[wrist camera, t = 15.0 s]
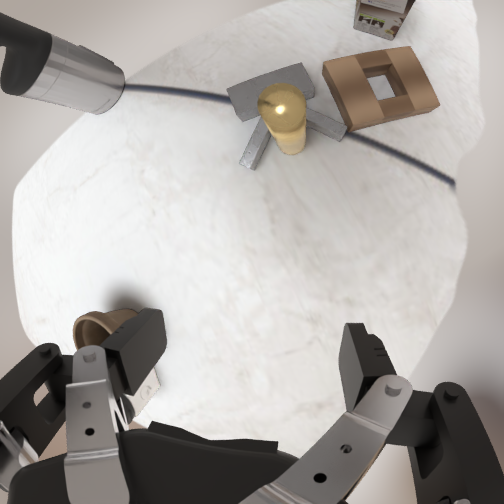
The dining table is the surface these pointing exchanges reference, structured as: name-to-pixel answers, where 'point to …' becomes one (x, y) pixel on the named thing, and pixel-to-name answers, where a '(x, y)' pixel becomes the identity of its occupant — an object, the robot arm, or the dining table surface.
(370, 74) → the hollow rectangular block
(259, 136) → the v block
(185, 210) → the dining table surface
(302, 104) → the axle
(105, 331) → the flower pot
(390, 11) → the coffee box
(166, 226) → the dining table surface
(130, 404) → the jar
